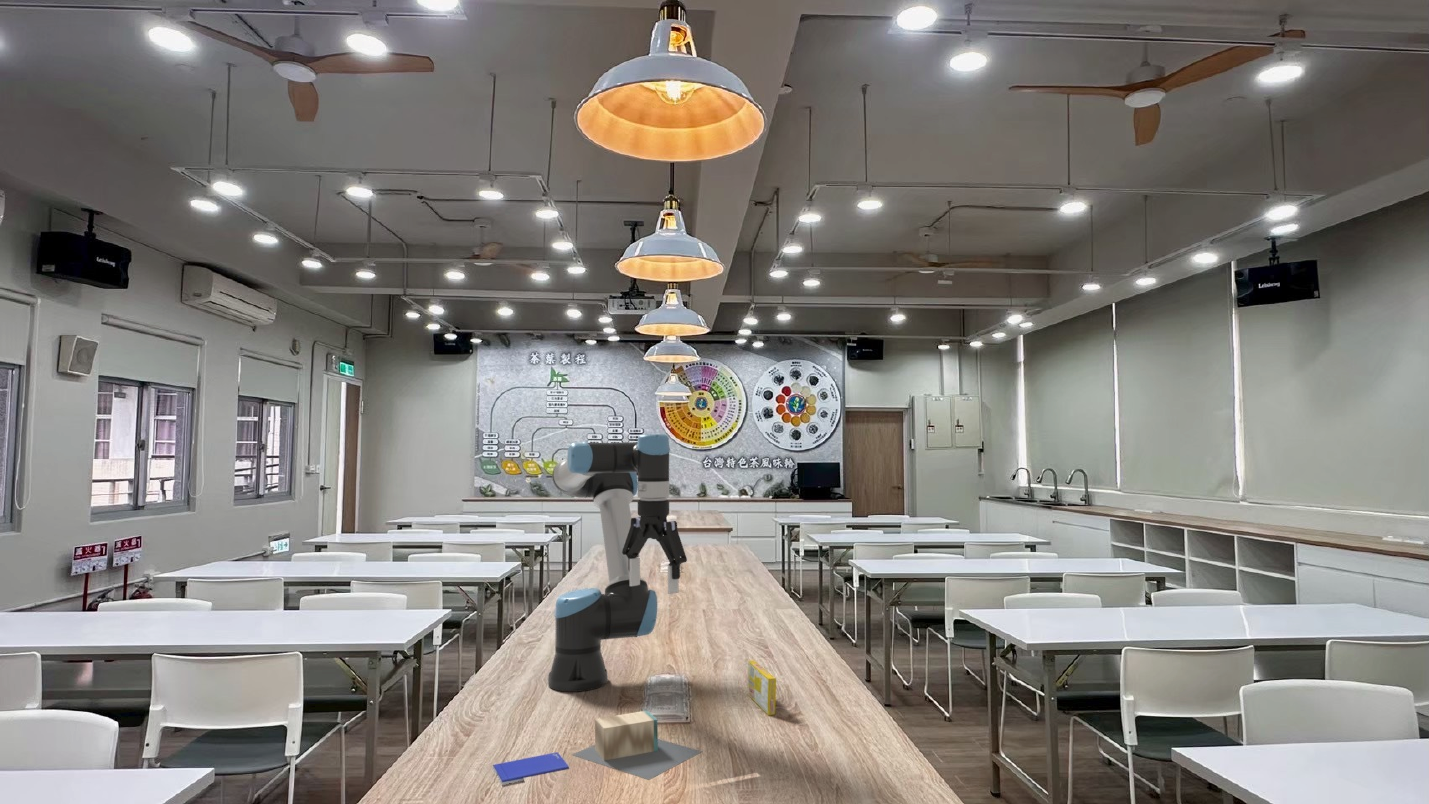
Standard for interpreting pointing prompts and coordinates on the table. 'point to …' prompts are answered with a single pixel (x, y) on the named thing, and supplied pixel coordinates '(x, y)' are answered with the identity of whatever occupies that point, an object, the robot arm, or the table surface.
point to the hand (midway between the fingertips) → (653, 589)
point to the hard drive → (529, 767)
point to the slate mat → (644, 759)
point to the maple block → (626, 735)
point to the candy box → (762, 687)
